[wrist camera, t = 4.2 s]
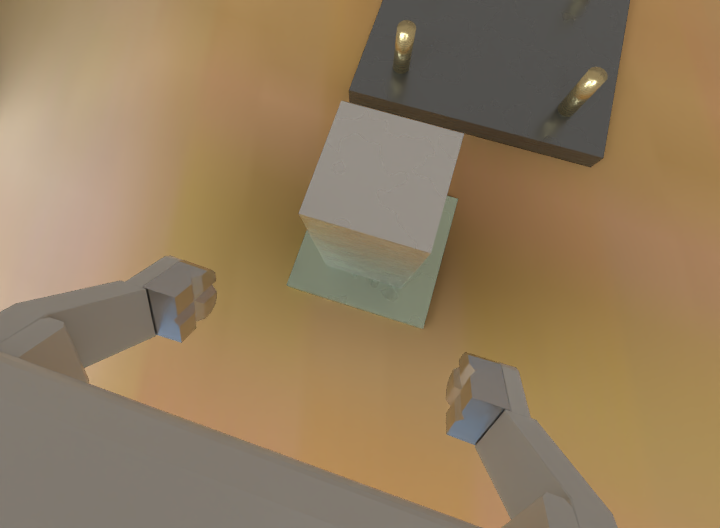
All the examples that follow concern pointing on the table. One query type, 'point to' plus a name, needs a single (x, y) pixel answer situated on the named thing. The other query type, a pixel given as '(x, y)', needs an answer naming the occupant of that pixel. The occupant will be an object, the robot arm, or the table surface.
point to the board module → (378, 214)
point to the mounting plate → (499, 70)
